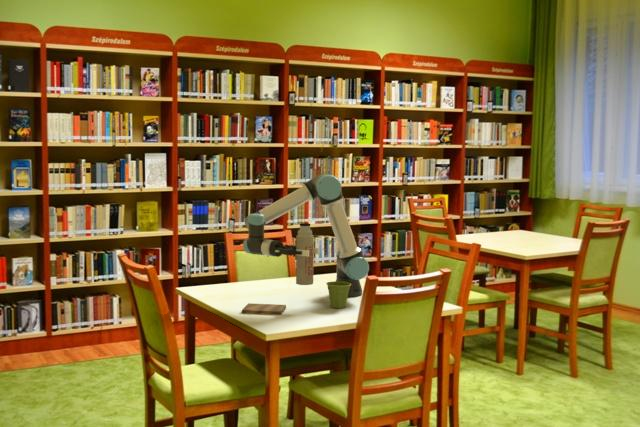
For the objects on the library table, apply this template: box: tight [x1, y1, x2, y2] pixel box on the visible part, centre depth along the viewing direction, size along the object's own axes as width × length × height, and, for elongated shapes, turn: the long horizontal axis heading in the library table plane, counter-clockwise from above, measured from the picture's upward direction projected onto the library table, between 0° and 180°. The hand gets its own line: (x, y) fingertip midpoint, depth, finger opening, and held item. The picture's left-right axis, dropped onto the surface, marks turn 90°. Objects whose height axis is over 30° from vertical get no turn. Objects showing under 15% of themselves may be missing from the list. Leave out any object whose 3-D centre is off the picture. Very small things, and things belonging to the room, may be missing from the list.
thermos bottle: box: [295, 222, 315, 286], centre depth 347 cm, size 8×8×28 cm
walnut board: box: [241, 302, 287, 316], centre depth 347 cm, size 18×14×2 cm
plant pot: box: [326, 280, 351, 309], centre depth 356 cm, size 12×12×11 cm
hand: (313, 252), depth 345 cm, fingers closed on thermos bottle, 8 cm apart
